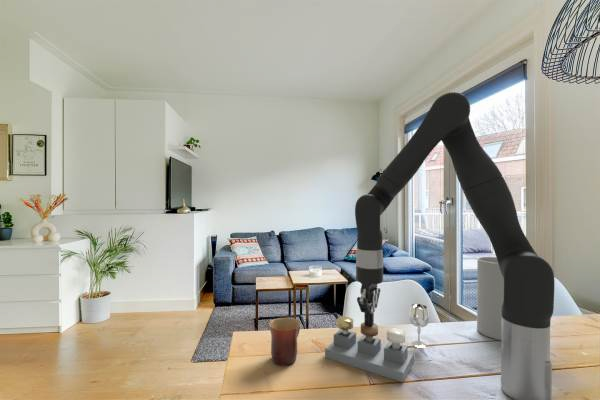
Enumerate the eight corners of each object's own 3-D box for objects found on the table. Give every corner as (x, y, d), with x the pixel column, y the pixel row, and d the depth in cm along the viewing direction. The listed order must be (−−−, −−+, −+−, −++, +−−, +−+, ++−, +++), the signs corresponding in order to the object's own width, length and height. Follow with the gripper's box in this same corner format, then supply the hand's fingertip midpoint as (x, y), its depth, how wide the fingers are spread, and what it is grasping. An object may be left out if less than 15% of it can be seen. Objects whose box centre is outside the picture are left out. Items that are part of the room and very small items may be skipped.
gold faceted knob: (355, 338, 92) (355, 318, 92) (349, 345, 88) (349, 324, 88) (341, 334, 94) (341, 315, 94) (334, 340, 90) (334, 320, 90)
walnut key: (380, 345, 88) (380, 324, 88) (374, 352, 84) (374, 330, 84) (364, 341, 90) (364, 320, 90) (358, 347, 86) (358, 326, 86)
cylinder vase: (468, 329, 107) (469, 258, 107) (492, 324, 112) (493, 255, 112) (504, 345, 96) (505, 265, 95) (529, 338, 100) (530, 262, 100)
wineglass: (430, 349, 92) (430, 310, 92) (410, 348, 94) (410, 308, 93) (426, 341, 98) (426, 303, 98) (407, 339, 99) (408, 302, 99)
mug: (288, 372, 80) (288, 333, 80) (262, 362, 85) (262, 325, 85) (310, 352, 90) (310, 317, 90) (286, 345, 95) (286, 312, 95)
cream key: (407, 352, 84) (407, 330, 84) (402, 360, 79) (402, 337, 79) (389, 348, 86) (389, 326, 86) (384, 355, 82) (384, 333, 82)
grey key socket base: (414, 360, 86) (414, 341, 86) (403, 382, 76) (403, 360, 76) (342, 341, 98) (342, 324, 98) (324, 357, 88) (325, 338, 88)
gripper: (374, 270, 79) (374, 337, 79) (389, 262, 90) (389, 320, 90) (347, 267, 83) (347, 330, 83) (365, 259, 94) (364, 315, 94)
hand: (369, 325), depth 87 cm, fingers closed
